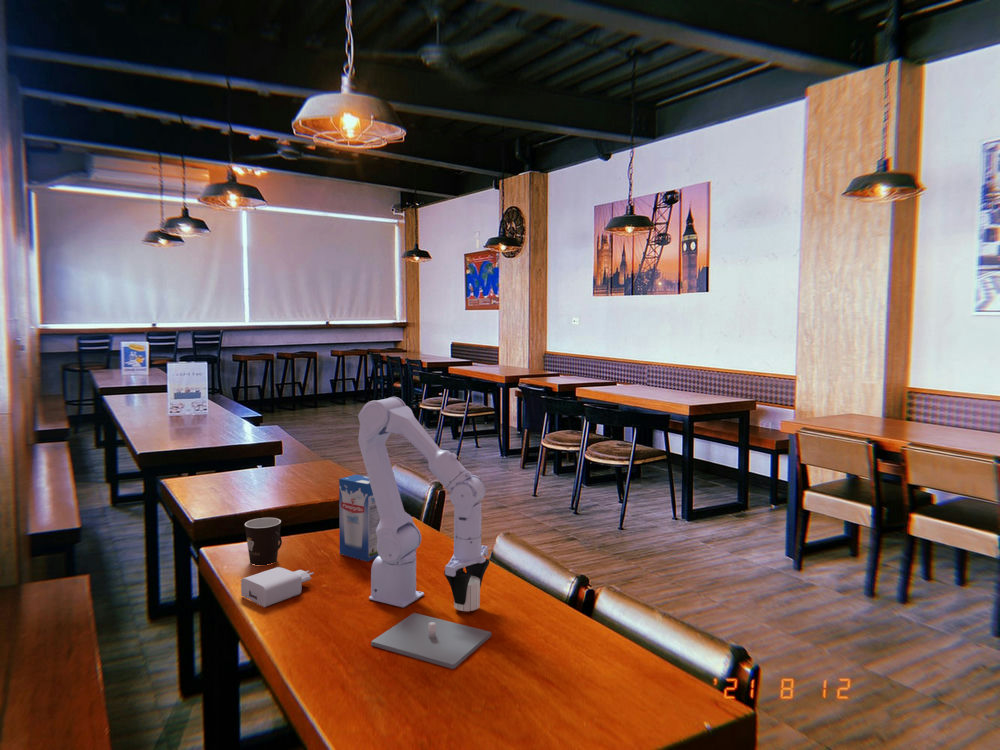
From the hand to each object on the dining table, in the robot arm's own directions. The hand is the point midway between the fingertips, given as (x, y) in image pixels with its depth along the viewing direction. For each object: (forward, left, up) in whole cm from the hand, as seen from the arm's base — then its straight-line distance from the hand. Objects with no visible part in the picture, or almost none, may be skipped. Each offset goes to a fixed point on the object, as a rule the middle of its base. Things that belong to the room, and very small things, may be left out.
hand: (466, 598), depth 139 cm
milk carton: (-41, +16, -3) cm, 44 cm away
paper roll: (0, 0, -2) cm, 2 cm away
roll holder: (+1, -15, -3) cm, 15 cm away
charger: (-41, -11, -3) cm, 43 cm away
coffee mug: (-58, -1, -3) cm, 58 cm away
